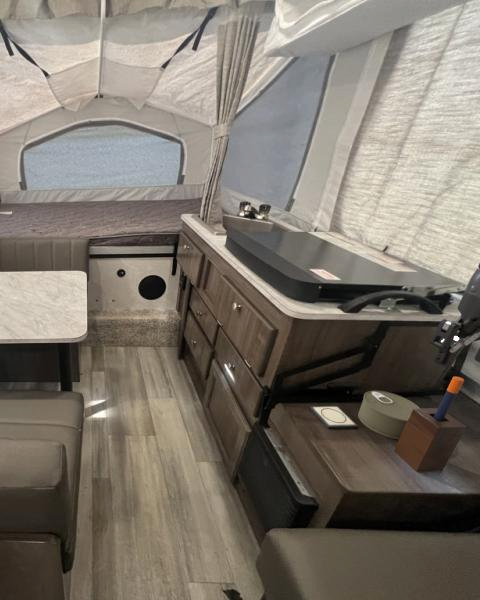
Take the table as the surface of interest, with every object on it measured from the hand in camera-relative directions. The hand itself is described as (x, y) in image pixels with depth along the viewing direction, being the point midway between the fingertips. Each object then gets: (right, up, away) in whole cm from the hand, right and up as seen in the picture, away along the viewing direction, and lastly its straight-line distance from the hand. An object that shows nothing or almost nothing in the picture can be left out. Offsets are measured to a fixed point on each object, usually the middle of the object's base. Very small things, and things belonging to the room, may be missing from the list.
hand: (461, 363), depth 66 cm
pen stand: (+3, -27, +11) cm, 29 cm away
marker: (+2, -17, +7) cm, 19 cm away
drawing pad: (-7, -21, +25) cm, 34 cm away
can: (+5, -22, +22) cm, 32 cm away
